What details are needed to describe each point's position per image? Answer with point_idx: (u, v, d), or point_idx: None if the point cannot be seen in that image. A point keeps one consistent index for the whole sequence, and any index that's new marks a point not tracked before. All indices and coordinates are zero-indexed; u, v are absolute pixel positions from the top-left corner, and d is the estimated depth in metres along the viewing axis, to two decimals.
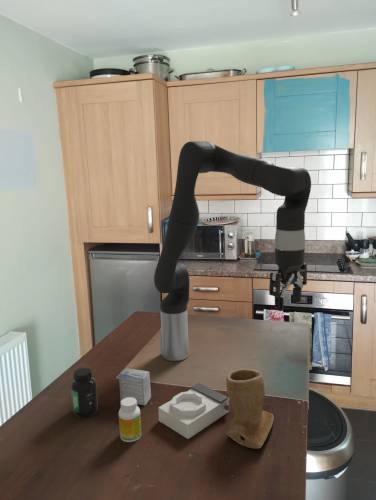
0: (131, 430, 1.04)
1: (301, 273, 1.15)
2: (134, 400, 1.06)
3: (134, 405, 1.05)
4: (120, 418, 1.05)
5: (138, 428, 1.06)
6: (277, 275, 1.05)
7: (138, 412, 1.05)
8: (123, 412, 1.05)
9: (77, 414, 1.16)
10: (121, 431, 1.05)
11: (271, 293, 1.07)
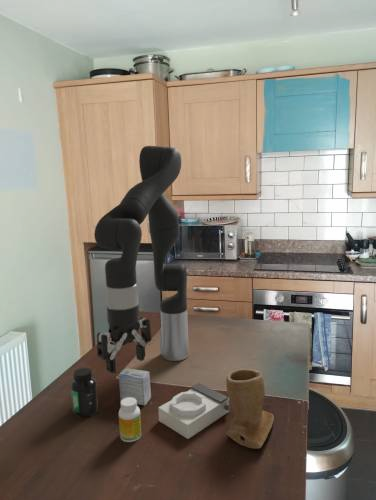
0: (131, 430, 1.04)
1: (144, 329, 1.06)
2: (134, 400, 1.06)
3: (134, 405, 1.05)
4: (120, 418, 1.05)
5: (138, 428, 1.06)
6: (102, 337, 0.96)
7: (138, 412, 1.05)
8: (123, 412, 1.05)
9: (77, 414, 1.16)
10: (121, 431, 1.05)
11: (99, 355, 0.98)
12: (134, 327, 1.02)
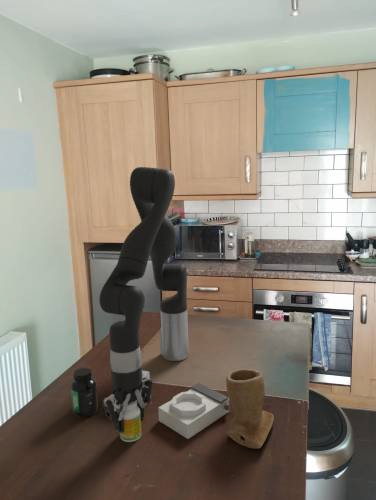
0: (131, 430, 1.04)
1: (145, 389, 1.09)
2: None
3: (134, 405, 1.05)
4: None
5: (138, 427, 1.06)
6: (107, 403, 1.00)
7: (138, 412, 1.05)
8: None
9: (77, 414, 1.16)
10: None
11: (108, 416, 1.02)
12: (137, 385, 1.05)
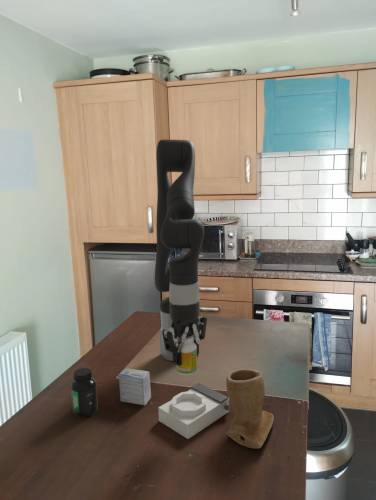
0: (188, 363, 1.07)
1: (200, 326, 1.12)
2: None
3: (191, 339, 1.08)
4: None
5: (195, 362, 1.09)
6: (167, 334, 1.03)
7: (195, 346, 1.08)
8: None
9: (77, 414, 1.16)
10: None
11: (167, 349, 1.05)
12: (194, 321, 1.08)
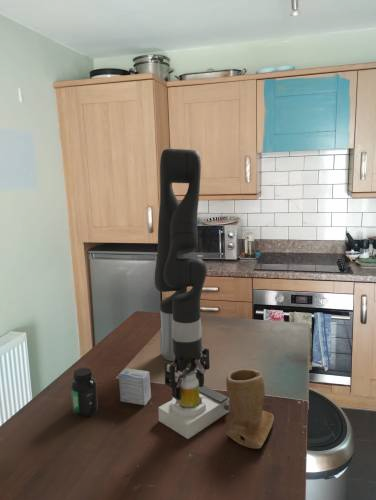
0: (191, 399, 1.10)
1: (203, 358, 1.14)
2: (193, 371, 1.11)
3: (194, 375, 1.10)
4: None
5: (197, 397, 1.11)
6: (170, 367, 1.05)
7: (197, 382, 1.10)
8: (183, 382, 1.10)
9: (77, 414, 1.16)
10: (181, 400, 1.11)
11: (166, 384, 1.07)
12: (196, 356, 1.11)
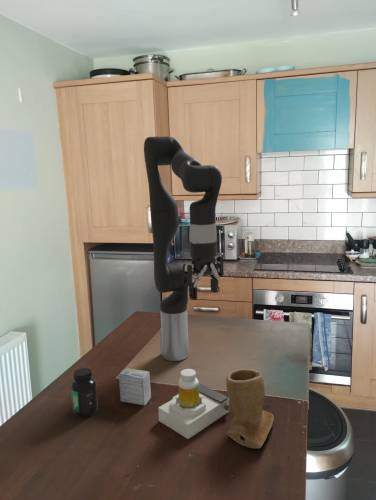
0: (191, 399, 1.10)
1: (218, 265, 1.22)
2: (193, 371, 1.11)
3: (194, 375, 1.10)
4: (180, 388, 1.10)
5: (197, 397, 1.11)
6: (188, 266, 1.13)
7: (197, 382, 1.10)
8: (183, 382, 1.10)
9: (77, 414, 1.16)
10: (181, 400, 1.11)
11: (184, 283, 1.15)
12: (211, 261, 1.19)
